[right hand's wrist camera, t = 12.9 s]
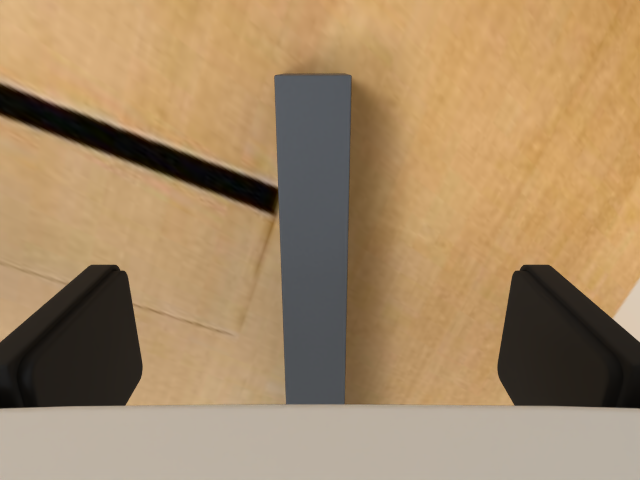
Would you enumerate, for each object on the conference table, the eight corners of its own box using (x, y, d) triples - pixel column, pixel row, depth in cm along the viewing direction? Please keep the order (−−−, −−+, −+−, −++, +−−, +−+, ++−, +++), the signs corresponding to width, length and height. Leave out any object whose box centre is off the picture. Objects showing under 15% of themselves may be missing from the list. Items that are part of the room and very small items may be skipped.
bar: (282, 73, 35) (274, 75, 28) (345, 73, 35) (351, 75, 28) (298, 598, 57) (295, 666, 51) (336, 598, 57) (339, 666, 51)
